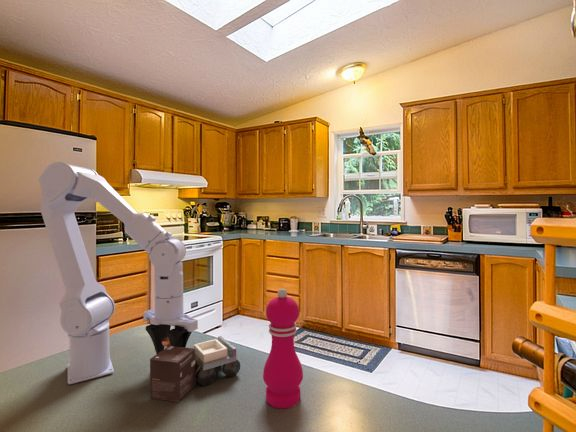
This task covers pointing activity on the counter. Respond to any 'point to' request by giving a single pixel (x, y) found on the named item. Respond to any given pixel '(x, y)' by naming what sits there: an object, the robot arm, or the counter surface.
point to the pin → (166, 342)
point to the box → (172, 373)
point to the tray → (210, 350)
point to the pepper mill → (282, 353)
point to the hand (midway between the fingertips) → (170, 358)
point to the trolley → (228, 365)
